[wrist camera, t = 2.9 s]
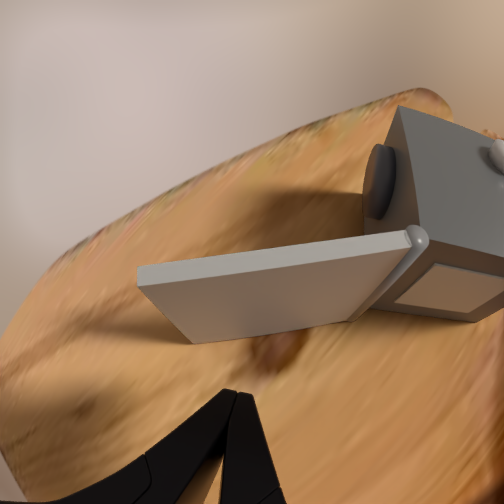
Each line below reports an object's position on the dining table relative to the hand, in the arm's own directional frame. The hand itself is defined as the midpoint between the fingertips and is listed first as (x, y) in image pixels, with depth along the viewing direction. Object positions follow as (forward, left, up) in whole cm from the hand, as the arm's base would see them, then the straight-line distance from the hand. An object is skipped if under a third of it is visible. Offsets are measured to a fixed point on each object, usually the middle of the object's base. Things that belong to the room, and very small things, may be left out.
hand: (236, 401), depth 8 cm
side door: (+4, -1, -6) cm, 8 cm away
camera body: (+10, -9, -7) cm, 15 cm away
